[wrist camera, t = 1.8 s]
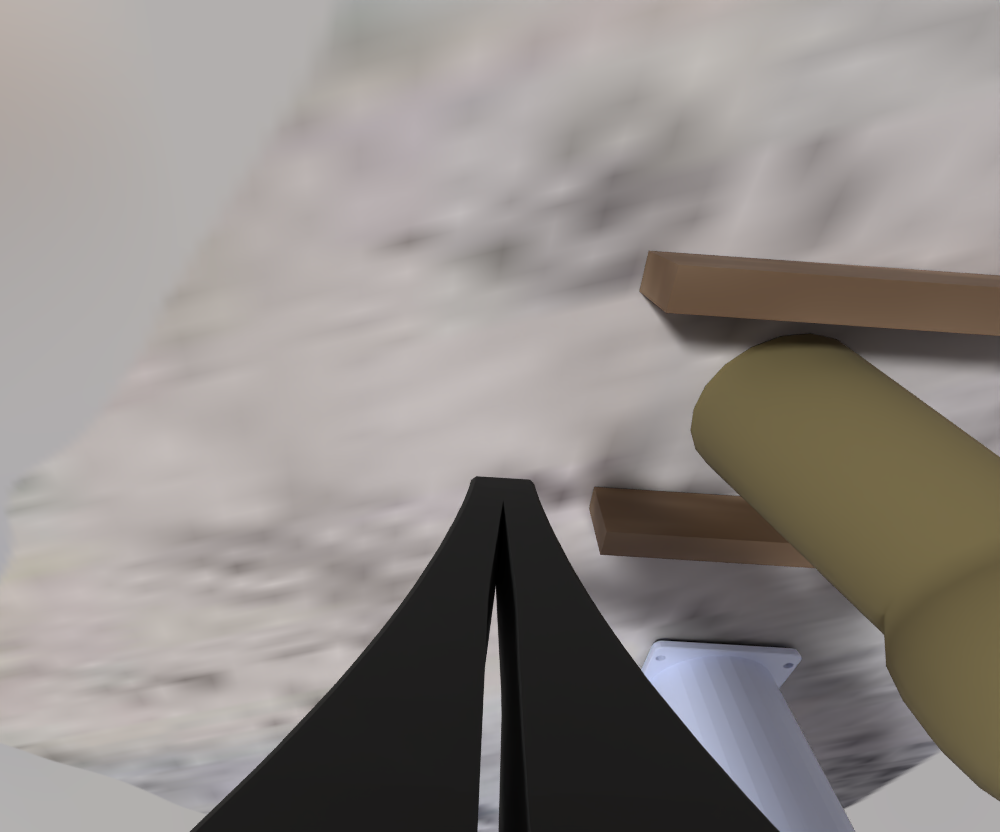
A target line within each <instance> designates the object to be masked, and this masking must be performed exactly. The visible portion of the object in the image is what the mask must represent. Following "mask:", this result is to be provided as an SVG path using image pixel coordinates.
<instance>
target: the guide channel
mask: <svg viewBox="0 0 1000 832" xmlns="http://www.w3.org/2000/svg"><path fill="white" fill-rule="evenodd" d="M640 292H641V293H642V294H643V295H645V296H646V297H647V298H648V299H650V300H651V301H652V302H653V303H654V304H656V305H657V306H658V307H659V308H661V309H662V310H663V311H664V312H665V313H676V314H691V315H705V316H720V317H734V318H748V319H763V320H777V321H792V322H806V323H821V324H835V325H850V326H864V327H879V328H893V329H908V330H922V331H937V332H951V333H966V334H980V335H994V336H1000V276H998V275H984V274H969V273H955V272H941V271H927V270H913V269H899V268H885V267H870V266H856V265H842V264H828V263H814V262H800V261H786V260H771V259H757V258H743V257H729V256H715V255H701V254H687V253H672V252H658V251H649V252H648V256H647V261H646V265H645V269H644V274H643V278H642V282H641V287H640ZM589 510H590V514H591V518H592V522H593V526H594V530H595V534H596V539H597V543H598V547H599V551H600V555H614V556H630V557H646V558H662V559H678V560H694V561H710V562H726V563H742V564H758V565H774V566H790V567H806V568H815V567H814V566H812V565H811V564H810V563H809V562H808V561H807V560H806V559H805V558H804V557H803V556H802V555H801V554H800V553H799V552H798V551H797V550H796V549H795V548H794V547H793V546H792V545H791V544H790V543H789V542H788V541H787V540H786V539H785V538H784V537H782V536H781V535H780V534H779V533H778V532H777V531H776V530H775V529H774V528H773V527H772V526H771V525H770V524H769V523H768V522H767V521H766V520H765V519H764V518H763V517H762V516H761V515H760V514H759V513H758V512H757V511H756V510H755V509H754V508H752V507H751V506H750V505H749V504H748V503H747V502H746V501H745V500H744V499H743V498H742V497H741V496H728V495H712V494H697V493H681V492H666V491H650V490H635V489H619V488H603V487H594V490H593V494H592V498H591V503H590V507H589Z"/></svg>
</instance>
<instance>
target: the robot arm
mask: <svg viewBox="0 0 1000 832" xmlns="http://www.w3.org/2000/svg"><path fill="white" fill-rule="evenodd" d="M495 587H496V599H497V618H498V638H499V657H500V676H501V706H502V723H501V763H500V801H499V832H855V830H854V828H853V826H852V824H851V823H850V821H849V819H848V817H847V815H846V813H845V811H844V809H843V807H842V806H841V804H840V802H839V800H838V798H837V796H836V794H835V792H834V791H833V789H832V787H831V785H830V783H829V781H828V779H827V777H826V776H825V774H824V772H823V770H822V768H821V766H820V764H819V762H818V761H817V759H816V757H815V755H814V753H813V751H812V749H811V748H810V746H809V744H808V742H807V740H806V738H805V736H804V734H803V733H802V731H801V729H800V727H799V725H798V723H797V721H796V719H795V718H794V716H793V714H792V712H791V710H790V708H789V706H788V704H787V703H786V701H785V699H784V697H783V695H782V693H781V691H780V689H779V688H780V687H781V686H782V684H783V683H784V682H785V680H786V679H787V678H788V677H789V675H790V674H791V673H792V671H793V670H794V669H795V668H796V666H797V665H798V664H799V662H800V661H801V659H802V657H801V655H800V654H799V652H798V651H797V650H796V649H792V648H777V647H761V646H744V645H728V644H711V643H695V642H678V641H657V642H655V643H654V644H653V645H652V647H651V649H650V651H649V653H648V656H647V658H646V660H645V663H644V665H643V667H642V670H641V669H640V668H639V667H638V665H637V664H636V663H635V661H634V660H633V659H632V657H631V656H630V654H629V653H628V652H627V650H626V649H625V648H624V646H623V645H622V644H621V642H620V641H619V639H618V638H617V636H616V635H615V634H614V632H613V631H612V629H611V628H610V626H609V625H608V624H607V622H606V621H605V619H604V618H603V616H602V615H601V613H600V612H599V610H598V608H597V607H596V605H595V604H594V602H593V601H592V599H591V598H590V596H589V594H588V593H587V591H586V589H585V588H584V586H583V584H582V583H581V581H580V579H579V578H578V576H577V574H576V573H575V571H574V569H573V567H572V566H571V564H570V562H569V560H568V558H567V556H566V555H565V553H564V551H563V549H562V547H561V545H560V543H559V541H558V539H557V537H556V536H555V534H554V531H553V529H552V527H551V525H550V523H549V521H548V519H547V516H546V514H545V512H544V510H543V507H542V505H541V502H540V500H539V497H538V494H537V492H536V489H535V485H534V483H533V482H532V481H531V480H526V479H510V478H494V477H478V476H476V477H475V478H473V479H472V480H471V483H470V486H469V489H468V492H467V494H466V497H465V499H464V501H463V504H462V506H461V508H460V510H459V512H458V514H457V516H456V518H455V520H454V522H453V524H452V525H451V527H450V529H449V531H448V532H447V534H446V536H445V538H444V540H443V541H442V543H441V545H440V547H439V548H438V550H437V551H436V553H435V555H434V556H433V558H432V559H431V561H430V562H429V564H428V565H427V567H426V568H425V570H424V571H423V573H422V575H421V576H420V578H419V579H418V581H417V582H416V584H415V585H414V587H413V588H412V589H411V591H410V592H409V594H408V595H407V596H406V598H405V599H404V600H403V602H402V603H401V605H400V606H399V607H398V609H397V610H396V611H395V613H394V614H393V615H392V616H391V618H390V619H389V620H388V622H387V623H386V624H385V626H384V627H383V628H382V629H381V631H380V632H379V633H378V634H377V636H376V637H375V638H374V639H373V640H372V642H371V643H370V644H369V645H368V646H367V648H366V649H365V650H364V651H363V652H362V654H361V655H360V656H359V657H358V658H357V660H356V661H355V662H354V663H353V664H352V666H351V667H350V668H349V669H348V670H347V671H346V672H345V674H344V675H343V676H342V677H341V678H340V679H339V680H338V682H337V683H336V684H335V685H334V686H333V687H332V688H331V689H330V691H329V692H328V693H327V694H326V695H325V696H324V697H323V698H322V699H321V700H320V701H319V702H318V703H317V704H316V705H315V707H314V708H313V709H312V710H311V711H310V712H309V713H308V714H307V715H306V716H305V717H304V718H303V719H302V720H301V721H300V722H299V724H298V725H297V726H296V727H295V728H294V729H293V730H292V731H291V732H290V733H289V734H288V735H287V736H286V737H285V738H284V739H283V741H282V742H281V743H280V744H279V745H278V746H277V747H276V748H275V749H274V750H273V751H272V752H271V753H270V754H269V755H268V756H267V757H266V758H265V759H264V760H263V761H262V762H261V763H260V764H259V765H258V766H257V767H256V768H255V769H254V770H253V771H252V772H251V773H250V774H249V775H248V776H247V777H246V778H245V779H244V780H243V781H242V782H241V783H240V784H239V785H238V786H237V787H236V788H234V789H233V790H232V791H231V792H230V793H229V794H228V795H227V796H226V797H225V798H224V799H223V800H222V801H221V802H220V803H219V804H218V805H217V806H216V807H215V808H214V809H213V810H212V811H211V812H210V813H209V814H208V815H207V816H205V817H204V818H203V819H202V820H201V821H200V822H199V823H198V824H197V825H196V826H195V827H194V828H193V829H192V830H191V831H190V832H477V827H478V804H479V782H480V760H481V738H482V716H483V695H484V673H485V662H486V655H487V647H488V640H489V632H490V625H491V617H492V610H493V602H494V595H495Z"/></svg>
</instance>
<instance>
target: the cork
mask: <svg viewBox="0 0 1000 832" xmlns="http://www.w3.org/2000/svg"><path fill="white" fill-rule="evenodd" d="M691 434H692V437H693V441H694V445H695V449H696V450H697V452H698V453H699V454H700V455H701V457H702V458H703V459H704V460H705V462H706V463H707V464H708V465H709V466H710V467H711V468H712V469H713V470H714V471H715V472H716V473H717V474H718V475H719V476H720V477H721V478H722V479H724V480H725V481H726V482H727V483H728V484H729V485H730V486H731V487H732V488H733V489H734V490H735V491H736V492H737V493H738V494H739V495H740V496H741V497H742V498H743V499H744V500H745V501H746V502H747V503H748V504H749V505H750V506H751V507H752V508H754V509H755V510H756V511H757V512H758V513H759V514H760V515H761V516H762V517H763V518H764V519H765V520H766V521H767V522H768V523H769V524H770V525H771V526H772V527H773V528H774V529H775V530H776V531H777V532H778V533H779V534H780V535H781V536H782V537H784V538H785V539H786V540H787V541H788V542H789V543H790V544H791V545H792V546H793V547H794V548H795V549H796V550H797V551H798V552H799V553H800V554H801V555H802V556H803V557H804V558H805V559H806V560H807V561H808V562H809V563H810V564H811V565H812V566H814V567H815V568H816V569H817V570H818V571H819V572H820V573H821V574H822V575H823V576H824V577H825V578H826V579H827V580H828V581H829V582H830V583H831V584H832V585H833V586H834V587H835V588H836V589H837V590H838V591H839V592H840V593H841V594H842V595H844V596H845V597H846V598H847V599H848V600H849V601H850V602H851V603H852V604H853V605H854V606H855V607H856V608H857V609H858V610H859V611H860V612H861V613H862V614H863V615H864V616H865V617H866V618H867V619H868V620H869V621H870V622H871V623H872V624H874V625H875V626H876V627H877V628H878V629H879V630H880V631H881V632H882V633H883V634H884V638H885V654H886V667H887V669H888V671H889V673H890V675H891V677H892V679H893V681H894V683H895V685H896V687H897V689H898V691H899V693H900V696H901V698H902V700H903V701H904V703H905V704H906V705H907V707H908V708H909V709H910V711H911V712H912V713H913V715H914V716H915V717H916V719H917V720H918V721H919V723H920V724H921V725H922V727H923V728H924V729H925V731H926V732H927V733H928V735H929V736H930V737H931V739H932V740H933V741H934V742H935V743H936V745H937V746H938V747H939V748H940V750H941V751H942V752H943V753H944V754H945V755H946V756H947V757H948V758H949V759H950V760H951V761H952V762H953V763H954V764H955V765H956V766H958V767H959V768H960V769H961V770H962V771H963V772H964V773H965V774H966V775H967V776H968V777H969V778H970V779H971V780H972V781H973V782H974V783H975V784H976V785H977V786H978V787H979V788H981V789H982V790H984V791H985V792H987V793H988V794H990V795H991V796H993V797H994V798H996V799H997V800H999V801H1000V457H999V456H997V455H996V454H995V453H993V452H992V451H991V450H989V449H988V448H986V447H985V446H984V445H982V444H981V443H980V442H978V441H977V440H975V439H974V438H973V437H971V436H970V435H968V434H967V433H966V432H964V431H963V430H962V429H960V428H959V427H957V426H956V425H955V424H953V423H952V422H951V421H949V420H948V419H946V418H945V417H944V416H942V415H941V414H939V413H938V412H937V411H935V410H934V409H933V408H931V407H930V406H928V405H927V404H926V403H924V402H923V401H922V400H920V399H919V398H917V397H916V396H915V395H913V394H912V393H910V392H909V391H908V390H906V389H905V388H904V387H902V386H901V385H899V384H898V383H897V382H895V381H894V380H893V379H891V378H890V377H888V376H887V375H886V374H884V373H883V372H881V371H880V370H879V369H877V368H876V367H875V366H873V365H872V364H870V363H869V362H868V361H866V360H865V359H864V358H862V357H861V356H859V355H858V354H857V353H855V352H854V351H852V350H851V349H850V348H848V347H847V346H845V345H844V344H843V343H841V342H840V341H838V340H837V339H833V338H829V337H824V336H820V335H815V334H811V333H810V334H800V335H790V336H781V337H778V338H775V339H772V340H770V341H767V342H764V343H762V344H759V345H756V346H753V347H751V348H749V349H748V350H746V351H745V352H743V353H742V354H740V355H739V356H737V357H736V358H734V359H733V360H731V361H730V362H728V363H727V364H725V365H724V366H723V368H722V369H721V370H720V371H719V372H718V373H717V374H716V375H715V376H714V377H713V378H712V379H711V381H710V382H709V383H708V384H707V385H706V386H705V388H704V390H703V392H702V394H701V396H700V398H699V400H698V402H697V404H696V406H695V408H694V411H693V418H692V425H691Z"/></svg>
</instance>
